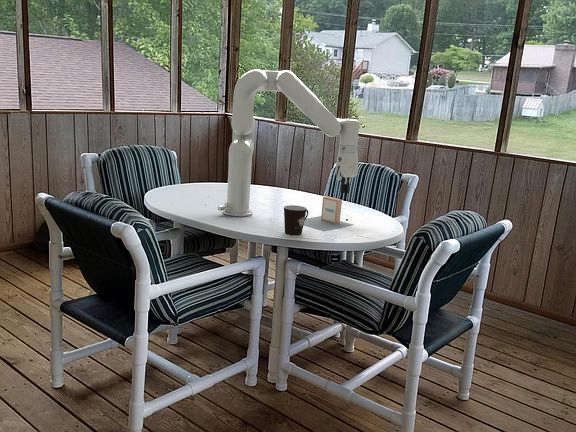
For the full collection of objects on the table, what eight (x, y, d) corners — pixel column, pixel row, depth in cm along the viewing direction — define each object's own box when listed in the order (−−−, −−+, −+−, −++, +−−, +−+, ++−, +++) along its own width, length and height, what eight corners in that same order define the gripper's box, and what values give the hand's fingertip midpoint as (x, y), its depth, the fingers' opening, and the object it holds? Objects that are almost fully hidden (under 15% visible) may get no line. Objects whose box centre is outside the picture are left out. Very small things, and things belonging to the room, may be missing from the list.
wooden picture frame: (335, 224, 228) (338, 200, 226) (320, 220, 234) (323, 196, 231) (339, 223, 230) (342, 199, 228) (324, 219, 236) (326, 196, 233)
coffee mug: (287, 236, 205) (289, 210, 203) (278, 230, 213) (280, 205, 211) (315, 235, 210) (317, 209, 208) (305, 230, 218) (307, 204, 215)
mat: (323, 232, 215) (323, 231, 215) (289, 222, 227) (289, 221, 227) (354, 226, 230) (354, 224, 230) (321, 217, 242) (321, 215, 242)
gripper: (344, 151, 223) (340, 196, 227) (365, 149, 233) (362, 192, 237) (329, 148, 227) (326, 193, 232) (351, 147, 238) (348, 189, 242)
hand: (344, 192), depth 234 cm, fingers closed
